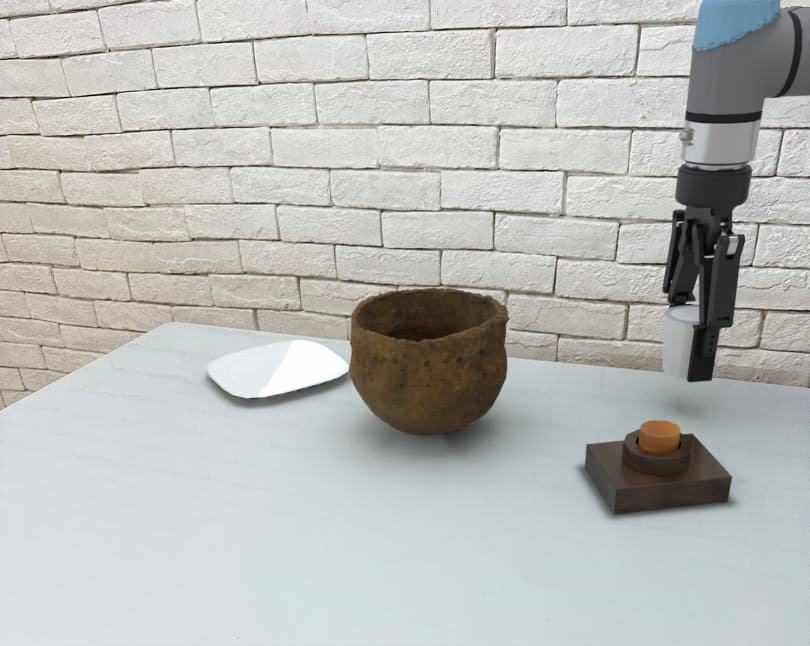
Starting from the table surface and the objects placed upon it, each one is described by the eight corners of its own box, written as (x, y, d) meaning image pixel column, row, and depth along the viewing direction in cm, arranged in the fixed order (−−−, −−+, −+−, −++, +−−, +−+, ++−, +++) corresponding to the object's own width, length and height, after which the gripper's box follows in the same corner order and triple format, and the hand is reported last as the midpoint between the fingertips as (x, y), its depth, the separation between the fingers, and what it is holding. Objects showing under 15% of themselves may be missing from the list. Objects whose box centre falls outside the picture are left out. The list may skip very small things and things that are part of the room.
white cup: (728, 371, 102) (738, 314, 98) (690, 386, 99) (698, 327, 95) (683, 355, 107) (691, 300, 103) (645, 369, 104) (651, 312, 100)
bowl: (540, 434, 102) (545, 312, 94) (405, 479, 95) (398, 351, 86) (454, 384, 116) (451, 274, 108) (330, 420, 108) (317, 304, 100)
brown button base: (688, 457, 96) (694, 416, 93) (727, 502, 87) (735, 458, 85) (584, 468, 95) (587, 427, 92) (613, 514, 86) (618, 471, 84)
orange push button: (669, 435, 90) (671, 418, 89) (684, 453, 87) (686, 435, 86) (632, 439, 90) (634, 422, 89) (646, 457, 87) (648, 438, 86)
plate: (241, 414, 111) (239, 402, 110) (196, 372, 124) (194, 360, 123) (363, 381, 118) (362, 370, 117) (309, 344, 132) (308, 333, 131)
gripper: (647, 150, 98) (628, 342, 111) (722, 184, 82) (689, 404, 94) (710, 146, 99) (684, 337, 111) (796, 178, 82) (754, 398, 95)
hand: (686, 368), depth 103 cm, fingers closed on white cup, 7 cm apart
